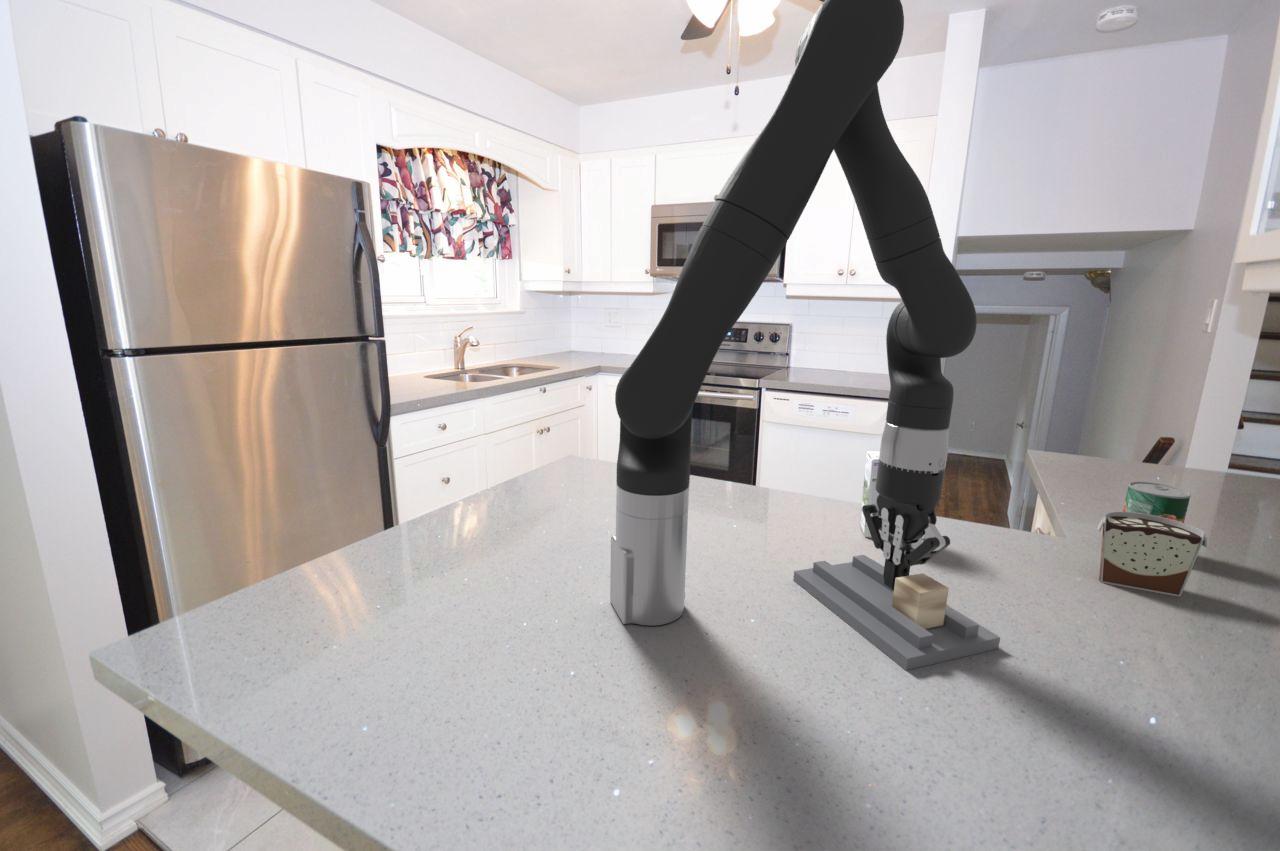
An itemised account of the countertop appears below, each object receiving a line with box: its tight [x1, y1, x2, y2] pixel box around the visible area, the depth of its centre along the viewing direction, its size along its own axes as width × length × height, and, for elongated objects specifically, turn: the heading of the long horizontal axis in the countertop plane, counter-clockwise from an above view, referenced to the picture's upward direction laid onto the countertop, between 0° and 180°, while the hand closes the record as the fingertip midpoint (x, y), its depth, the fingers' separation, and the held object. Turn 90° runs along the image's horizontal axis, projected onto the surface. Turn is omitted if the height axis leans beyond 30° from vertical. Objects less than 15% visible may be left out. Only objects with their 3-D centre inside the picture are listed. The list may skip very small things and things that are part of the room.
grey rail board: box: [793, 554, 1001, 671], centre depth 76 cm, size 22×14×3 cm, turn 19°
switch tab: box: [892, 572, 950, 629], centre depth 71 cm, size 4×4×5 cm
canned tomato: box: [1122, 481, 1192, 523], centre depth 97 cm, size 8×8×11 cm
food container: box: [1097, 511, 1208, 598], centre depth 86 cm, size 12×6×10 cm, turn 65°
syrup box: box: [859, 450, 882, 539], centre depth 101 cm, size 6×6×14 cm
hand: (894, 587), depth 75 cm, fingers closed
